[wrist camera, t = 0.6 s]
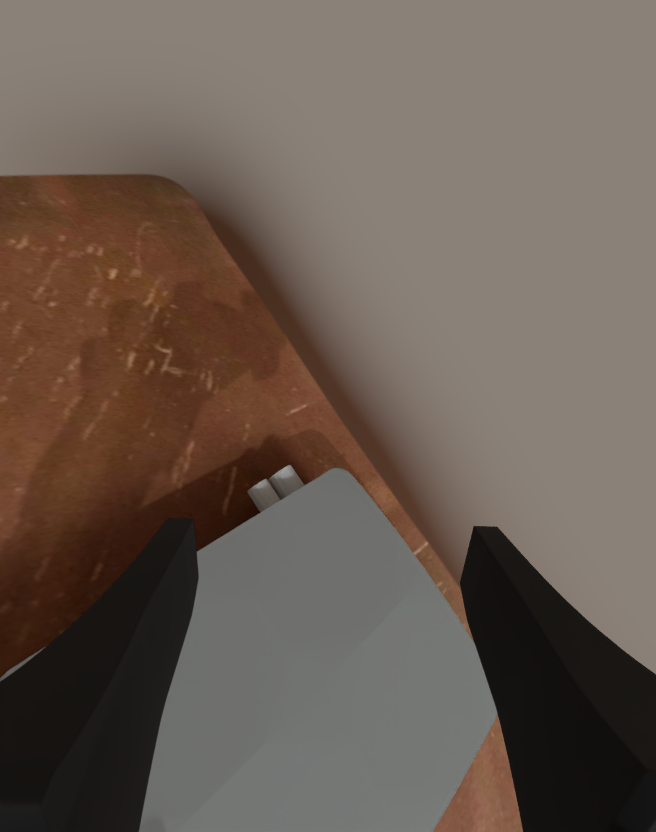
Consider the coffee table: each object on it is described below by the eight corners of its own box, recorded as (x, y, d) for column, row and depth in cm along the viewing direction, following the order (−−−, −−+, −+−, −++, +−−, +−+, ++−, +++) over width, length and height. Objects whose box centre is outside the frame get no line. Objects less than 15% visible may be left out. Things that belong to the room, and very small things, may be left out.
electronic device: (-42, 663, 23) (-41, 642, 20) (300, 465, 38) (336, 432, 34) (193, 1104, 20) (244, 1175, 17) (464, 704, 35) (521, 695, 32)
